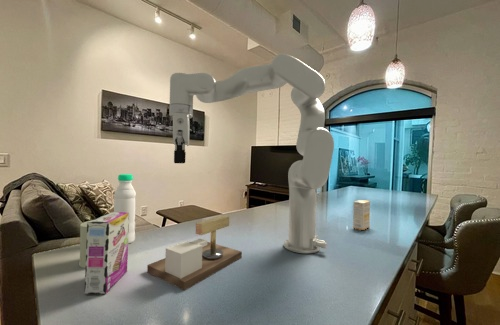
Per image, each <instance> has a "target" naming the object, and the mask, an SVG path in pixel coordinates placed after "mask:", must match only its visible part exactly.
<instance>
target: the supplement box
mask: <svg viewBox="0 0 500 325" xmlns="http://www.w3.org/2000/svg"><path fill="white" fill-rule="evenodd" d="M370 209H371V201H370V200H365V199H364V200H363V199H358V200H354V201H353V212H352V213H353V215H352V217H353V218H352V220H353V222H352V228H355V229H354V230H356V229H359V230H358V231H361V230H364V231H365V229H366V230H368V229H370V223H371V222H370V220H371V219H370V218H371V213H370V212H371V210H370ZM367 228H368V229H367Z"/></svg>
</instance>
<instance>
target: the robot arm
mask: <svg viewBox="0 0 500 325" xmlns="http://www.w3.org/2000/svg"><path fill="white" fill-rule="evenodd" d="M286 84H288V85H289V86H291V87H292V89H291V91H290V98H291V101H292V102H293V104H294V105H295V106H296V107H297V109H298V110H299V113H300V122H299V123H300V124H299V128H298V133H297V139H296V147H295V148H296V150H297V153H299V154H300V155H301V156H302V157H303V158H302V159H300V160H297V161H294V162H293V163H292V164H291V165H290V167H289V168H288V171H287V172H288V173H287V174H288V175H287V176H288V177H287V178H288V179H287V180H288V192H289V193H288V194H289V195H288V196H289V198H288V201H289V203H288V234H287V236H288V238H287V239H285V241H284V242H283V247H284V248H285V249H286V250H288V251H290V252H294V253H299V254H314V253H317V252H319V251H320V248H321V249H325V250H327V248H328V242H326V240H321V239H319V235H318V234H316V224H317V223H316V221H317V220H316V216H317V193H316V192H317V191H316V190H317V189H320V188H322V187H324V185H325V184H326V182H328V178H329V175H330V172H331V165H332V160H333V155H334V151H335V150H334V148H335V141H334V138H333V135H332V133H331V132H330V131H329V130H328V129H326V128H324V127H325V122H326V113H325V109H324V107H323V104H322V103H321V101H320V100H319V98H320V97H321V96H323V94H324V93H325V90H326V82H325V79H324V77H323V76H322V75H321V74H320V73H319V72H318V71H316V70H314V69H313V68H312V67H310V66H308V65H307V64H306V63H304V62H303V61H301V60H300V59H298V58H296V57H295V56H292V55H290V54H287V53H279V54H277V55H275V56H274V58H272V61H271V62H270V63H268V64H266V63H265V64H260V65H254V66H246V67H243V68H240V69H238V71H236V72H235V73H234V74H233V75H232V76H229V77H228V78H226V79H223V80H219V81H216V79H215V77H213V75H212V74H210V73H208V72H198V73H196V72H195V73H185V72H184V73H183V72H175V73H172V74H171V75H170V78H169V111H168V112H169V114H168V116H169V117H170V118H172V141H173V144H174V151H173V163H174V164H185V163H186V153H187V152H186V146H187V147H190V128H191V127H190V119H192V118H193V115H194V96H196V98H197V100H198V101H200V102H201V103H204V104H211V103H218V102H225V101H228V100H232V99H235V98H238V97H242V96H245V95H247V94H251V93H256V92H262V91H268V90H270V91H271V90H273V89H274V90H275V89H279V88H282V87H284V86H286Z"/></svg>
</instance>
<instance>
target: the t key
mask: <svg viewBox="0 0 500 325" xmlns="http://www.w3.org/2000/svg"><path fill="white" fill-rule="evenodd" d="M227 227H230V216H228V215H219V216H217V217H213V218H210V219H205V220H202V221H198V222H196V223H195V234H196V235H199V236H203V235H206V234H210V241H209V242H210V249H208V250H205V251H204V252H203V258H204V259H206V260H218V259H220V258H222V257H223V251H222V250H219V249H216V244H217V242H216V241H217V231H218V230H221V229H225V228H227Z"/></svg>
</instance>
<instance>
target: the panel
mask: <svg viewBox="0 0 500 325" xmlns="http://www.w3.org/2000/svg"><path fill="white" fill-rule="evenodd" d="M208 249H210V241H207V245H206V246H204V247H202V268H201V269H199V270H197V271H195V272H193V273H191V274H189V275H187V276H185V277H183V278H181V279H180V278H178V277H176V276H174V275H172V274H169V273H167V272H165V259H166V257H164V258H162V259H160V260H157V261H154V262H152V263H149V264H147V267H146V268H147V269H146V270H147V273H148V274H150V275H152V276H153V277H156V278H158V279H159V280H162V281H164V282H166V283H168V284H170V285H172V286H174V287H177V288H178V289H180V290H182V291H186V290H188V289H190V288H191V287H194V286H195V285H196V284H199V283H200V282H202V281H204V280H206V279H207V278H209V277H211V276H212V275H213V276H214V274H216V273H218V272H221V270H223V269H225V268H227V267H228V266H230V265H232V264H233V263H235V262H237V261H239V260H240V259H242V257H243V256H242V254H243V252H242V250H238V249H233V248H230V247H227V246H224V245H221V244H217V243H216V249H219V250H222V251H223V257H222V258H220V259H218V260H206V259H204V258H203V252H204V251H205V250H208Z"/></svg>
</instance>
